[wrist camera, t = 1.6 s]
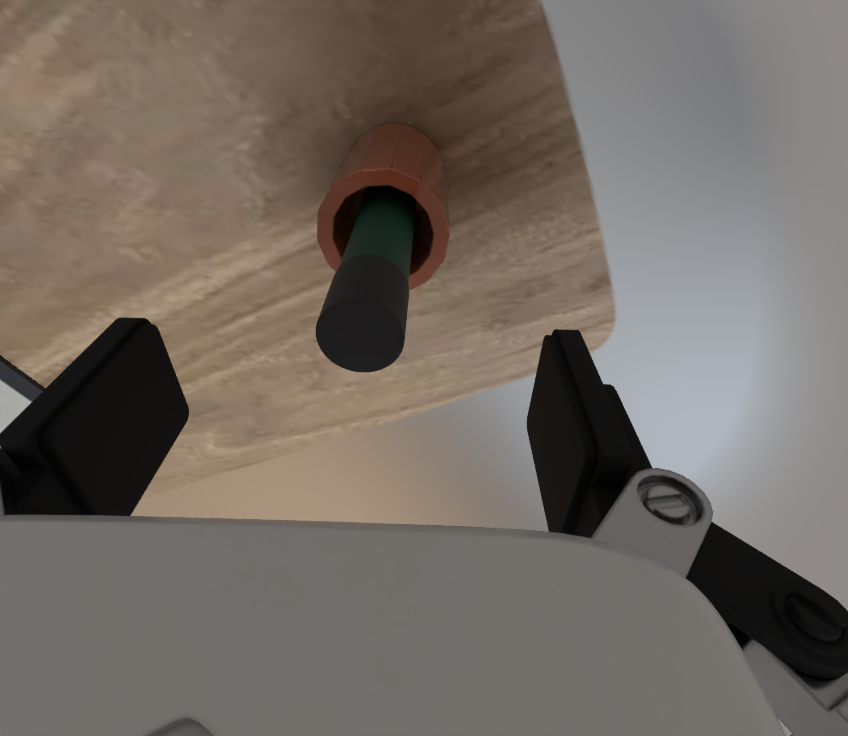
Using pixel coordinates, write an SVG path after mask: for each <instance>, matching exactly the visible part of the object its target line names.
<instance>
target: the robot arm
mask: <svg viewBox="0 0 848 736" xmlns="http://www.w3.org/2000/svg"><path fill="white" fill-rule="evenodd" d="M188 416H189V408H188V405H187V402H186V400H185V397H184V394H183V392H182V389H181V387H180V384H179V381H178V379H177V376H176V374H175V371H174V368H173V366H172V363H171V361H170V358H169V355H168V353H167V350H166V348H165V345H164V342H163V340H162V337H161V335H160V332H159V330H158V328H157V327H156V326H155V325H153V324H151V323H150V322H149V321H148V320H147V319H145V318H118V319H116V320H115V321H114V322H113V323H112V324H111V325H110V326H109V327H108V328H107V329H106V330H105V331H104V332H103V333H102V334H101V335H100V336H99V337H98V338H97V339H96V340H95V341H94V342H93V343H92V344H91V345H90V346H89V347H88V348H87V349H86V350H84V351H83V352H82V353H81V354H80V355H79V356H78V357H77V358H76V359H75V360H74V361H73V362H72V363H71V364H70V365H69V366H68V367H67V368H66V369H65V370H64V371H63V372H62V373H61V374H60V375H59V376H58V377H57V378H56V379H55V380H54V381H53V382H52V383H51V384H50V385H49V386H48V387H47V388H46V389H45V390H44V391H43V392H42V393H41V394H40V395H39V396H38V397H37V398H36V399H35V400H33V401H32V402H31V403H30V404H29V405H28V406H27V407H26V408H25V409H24V410H23V411H22V412H21V413H20V414H19V415H18V416H17V417H16V418H15V419H14V420H13V421H12V422H11V423H10V424H9V425H8V426H7V427H6V428H5V429H4V430H3V431H2V432H1V433H0V446H1V448H0V736H786V735H785V733H784V731H783V728H782V726H781V724H780V722H779V720H778V718H779V719H780V720H781V722H782V723H783V724H784V725H785V726H786V727H787V728H788V729H789V730H790V732H791V733H792V735H790V736H848V611H847V610H846V609H845V608H844V607H843V606H842V605H841V604H840V603H839V602H838V601H837V600H836V599H835V598H833V597H832V596H830V595H829V594H828V593H826V592H825V591H823V590H822V589H820V588H819V587H817V586H816V585H814V584H812V583H811V582H809V581H807V580H806V579H804V578H803V577H801V576H799V575H798V574H796V573H794V572H793V571H791V570H790V569H788V568H786V567H785V566H783V565H781V564H780V563H778V562H776V561H775V560H773V559H771V558H770V557H768V556H767V555H765V554H763V553H762V552H760V551H758V550H757V549H755V548H753V547H752V546H750V545H749V544H747V543H745V542H744V541H742V540H741V539H739V538H737V537H736V536H734V535H732V534H731V533H729V532H727V531H726V530H724V529H723V528H721V527H719V526H717V525H716V524H714V523H713V522H711V521H712V515H713V511H712V507H711V503H710V501H709V499H708V498H707V496H706V495H705V493H704V492H703V491H702V490H701V489H700V488H699V487H698V486H697V485H696V484H695V483H693V482H692V481H690V480H689V479H687V478H686V477H684V476H682V475H680V474H677V473H675V472H672V471H670V470H664V469H659V468H652V466H651V464H650V462H649V460H648V458H647V455H646V453H645V451H644V449H643V447H642V445H641V443H640V441H639V438H638V436H637V434H636V432H635V430H634V428H633V426H632V423H631V421H630V419H629V417H628V415H627V413H626V411H625V408H624V406H623V404H622V402H621V400H620V398H619V395H618V393H617V391H616V390H615V388H614V387H613V386H612V385H608V384H607V385H606V384H605V385H604V384H603V383H602V381H601V378H600V376H599V374H598V371H597V369H596V367H595V365H594V363H593V360H592V358H591V355H590V353H589V351H588V349H587V346H586V344H585V342H584V340H583V337H582V335H581V333H580V331H579V330H557V329H555V330H554V331H553V333H552V335H546V336H545V337H544V340H543V344H542V349H541V354H540V359H539V364H538V368H537V373H536V378H535V383H534V388H533V393H532V397H531V402H530V407H529V411H528V416H527V431H528V436H529V440H530V445H531V450H532V454H533V459H534V464H535V469H536V473H537V478H538V483H539V487H540V492H541V497H542V501H543V506H544V511H545V515H546V520H547V525H548V530H549V532H544V531H534V530H522V529H503V528H484V527H464V526H442V525H441V526H440V525H413V524H384V523H356V522H354V523H353V522H325V521H291V520H290V521H289V520H258V519H222V518H185V517H144V516H130V515H131V514H132V512H133V510H134V509H135V507H136V505H137V504H138V502H139V500H140V499H141V497H142V495H143V494H144V492H145V490H146V489H147V487H148V485H149V484H150V482H151V480H152V479H153V477H154V475H155V474H156V472H157V470H158V469H159V467H160V465H161V464H162V462H163V460H164V459H165V457H166V455H167V454H168V452H169V450H170V449H171V447H172V445H173V444H174V442H175V440H176V439H177V437H178V435H179V434H180V432H181V430H182V429H183V427H184V425H185V424H186V422H187V420H188ZM777 717H778V718H777Z"/></svg>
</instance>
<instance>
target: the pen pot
mask: <svg viewBox="0 0 848 736" xmlns="http://www.w3.org/2000/svg"><path fill="white" fill-rule="evenodd" d="M386 185H390V186H392V187H394V188H397V189H399V190H401V191H404V192H406V193H408V194H411V195H412V196H413V197H414V198H415V200H416V201H417V203H416V213H415V223H414V232H413V242H412V252H411V262H410V272H409V282H408V285H409V290H411V289H413V288H415V287H417V286H419V285H421V284H423V283H425V282H426V281H428V280H429V279H430V278H431V276H432V275H433V274H434V273H435V271H436V270H437V269H438V268H439V266H440V265H441V264H442V263H443V261H444V259H445V255H446V250H447V245H448V240H449V236H450V229H449V209H448V190H447V176H446V172H445V166H444V162H443V159H442V156H441V154H440V152H439V150H438V149H437V147H436V146H435V144H434V143H433V142H432V141H431V140H430V139H429V138H428V137H427V136H426V135H425V134H424V133H422V132H421V131H419V130H417V129H416V128H413V127H411V126H408V125H404V124H396V123H393V124H384V125H380V126H377V127H374V128H373V129H371V130H369V131H367V132H366V133H365V134H363V135H362V136H361V137H360V138H359V139H358V140H357V141H356V143H355V144H354V146H353V148H352V150H351V151H350V153H349V155H348V157H347V158H346V160H345V162H344V164H343V165H342V167H341V169H340V171H339V173H338V175H337V176H336V178H335V180H334V182H333V184H332V185H331V187H330V189H329V191H328V193H327V194H326V196H325V198H324V200H323V202H322V204H321V205H320V207H319V211H318V222H317V238H318V239H317V240H318V243H319V245H320V247H321V249H322V252H323V254H324V256H325V258H326V261H327V263H328V265H330V267H331V268H332V269H333V270H334V271H337V269H338V268H339V266H340V263H341V261H342V258H343V255H344V252H345V249H346V247H347V244H348V241H349V238H350V236H351V233H352V230H353V227H354V224H355V222H356V219H357V216H358V213H359V210H360V208H361V205H362V202H363V199H364V197H365V194H366V191H367V188H368V186H386Z"/></svg>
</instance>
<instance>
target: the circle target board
mask: <svg viewBox="0 0 848 736" xmlns="http://www.w3.org/2000/svg"><path fill="white" fill-rule="evenodd" d="M44 390H45V389H44V388H43V387H41V386H40V385H39V384H37V383H36V382H34V381H33V380H32V379H30V378H29V377H28V376H26V375H25V374H23V373H22V372H21V371H19V370H18V369H17V368H15V367H14V366H12V365H11V364H10V363H8V362H7V361H6V360H4V359H3V358H1V357H0V433H1V432H2V431H3V430H4V429H5V428H6V427H7V426H8V425H9V424H10V423H11V422H12V421H13V420H14V419H15V418H16V417H17V416H18V415H19V414H20V413H21V412H22V411H23V410H24V409H25V408H26V407H27V406H28V405H29V404H30V403H31V402H32V401H33V400H35V399H36V398H37V397H38V396H39V395H40V394H41V393H42V392H43V391H44ZM0 448H1V446H0Z"/></svg>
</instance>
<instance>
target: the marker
mask: <svg viewBox="0 0 848 736" xmlns="http://www.w3.org/2000/svg"><path fill="white" fill-rule="evenodd" d="M416 203H417V201H416V200H415V198H414V197H413V196H412V195H411V194H408V193H406V192H404V191H401V190H399V189H397V188H394V187H392V186H390V185H386V186H368V188H367V191H366V194H365V197H364V199H363V202H362V205H361V208H360V210H359V213H358V216H357V219H356V222H355V224H354V227H353V230H352V233H351V236H350V238H349V241H348V244H347V247H346V249H345V252H344V255H343V258H342V261H341V263H340V266H339V268H338V269H337V271H336V273H335V275H334V278H333V280H332V283H331V286H330V289H329V291H328V294H327V297H326V300H325V302H324V305H323V308H322V310H321V313H320V316H319V319H318V321H317V325H316V338H317V342H318V345H319V347H320V349H321V350H322V352H323V353H324V355H325V356H326V357H327V358H328V359H329V360H331V361H332V362H333V363H335V364H336V365H338V366H340V367H342V368H344V369H347V370H351V371H355V372H374V371H378V370H381V369H383V368H385V367H387V366H389V365H390V364H392V363H393V362H394V361H395V360H396V359H397V358H398V357H399V355H400V354H401V352H402V350H403V347H404V341H405V330H406V320H407V309H408V299H409V285H408V282H409V272H410V262H411V252H412V242H413V232H414V223H415V213H416Z"/></svg>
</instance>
